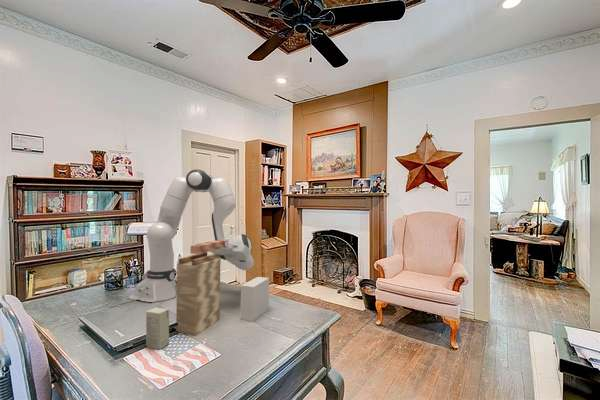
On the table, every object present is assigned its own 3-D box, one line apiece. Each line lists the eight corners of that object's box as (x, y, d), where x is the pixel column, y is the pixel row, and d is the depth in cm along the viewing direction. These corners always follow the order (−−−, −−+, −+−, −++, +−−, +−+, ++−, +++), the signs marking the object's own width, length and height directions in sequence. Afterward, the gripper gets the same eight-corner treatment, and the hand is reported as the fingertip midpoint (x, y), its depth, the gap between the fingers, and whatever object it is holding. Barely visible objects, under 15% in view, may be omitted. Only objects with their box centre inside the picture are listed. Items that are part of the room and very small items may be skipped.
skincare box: (169, 343, 99) (170, 309, 99) (159, 350, 94) (160, 313, 95) (155, 340, 101) (155, 306, 101) (145, 346, 97) (145, 310, 97)
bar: (220, 245, 130) (220, 239, 130) (228, 246, 129) (228, 239, 129) (190, 253, 111) (190, 245, 111) (198, 254, 110) (198, 246, 110)
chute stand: (201, 316, 122) (203, 252, 122) (219, 319, 119) (220, 253, 119) (176, 331, 108) (177, 258, 108) (195, 335, 105) (196, 260, 105)
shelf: (257, 307, 134) (257, 276, 134) (268, 309, 132) (269, 278, 132) (240, 319, 120) (241, 285, 120) (252, 321, 118) (253, 287, 118)
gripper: (218, 246, 142) (202, 235, 131) (254, 249, 135) (241, 237, 124) (214, 258, 139) (197, 248, 128) (250, 261, 132) (237, 251, 121)
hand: (219, 243), depth 126 cm, fingers closed on bar, 4 cm apart
